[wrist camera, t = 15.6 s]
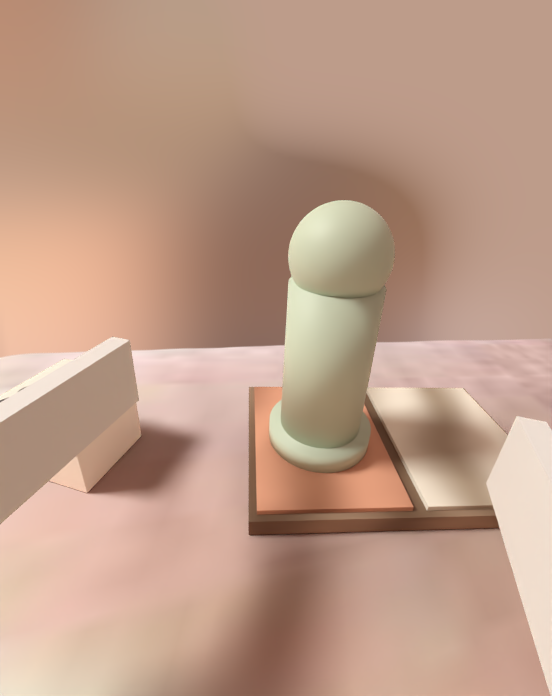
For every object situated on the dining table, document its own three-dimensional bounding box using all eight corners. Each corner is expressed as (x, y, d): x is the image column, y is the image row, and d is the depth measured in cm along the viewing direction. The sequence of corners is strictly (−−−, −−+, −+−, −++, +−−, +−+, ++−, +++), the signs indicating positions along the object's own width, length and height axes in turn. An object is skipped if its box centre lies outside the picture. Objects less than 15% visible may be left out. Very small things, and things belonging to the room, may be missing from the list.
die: (141, 435, 24) (131, 370, 22) (87, 493, 20) (67, 420, 17) (80, 419, 25) (64, 356, 23) (16, 470, 21) (-12, 399, 18)
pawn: (385, 433, 23) (440, 204, 17) (332, 492, 19) (379, 212, 12) (307, 394, 27) (327, 192, 20) (248, 436, 23) (249, 196, 16)
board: (460, 398, 30) (464, 385, 30) (575, 525, 19) (585, 509, 19) (249, 397, 29) (249, 384, 28) (248, 534, 18) (249, 518, 17)
